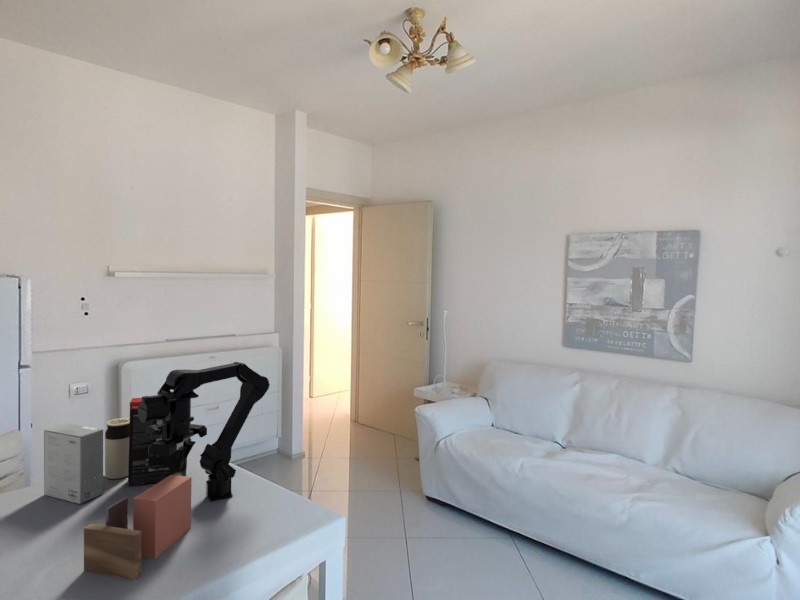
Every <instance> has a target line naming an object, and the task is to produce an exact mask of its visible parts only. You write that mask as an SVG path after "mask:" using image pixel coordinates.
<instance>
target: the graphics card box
mask: <svg viewBox="0 0 800 600" xmlns="http://www.w3.org/2000/svg"><path fill="white" fill-rule="evenodd" d="M141 401H142V397H132V398H131V400H130V402H129V419H130V427H129V464H128V476H127V484H128V485H127V486H135V485H136V486H137V485H146V484H147V485H148V484H154V483H156V484H157V483H159V482H160V481H162V480H163V479H165V478H167V477H168V476H170V475H178V476H186V477H187V468H188V457H187V458H186V460H185V462H184V464H183V466H182V468H181V469H176V466H175V463H174V461H173V458H172V456H171V455H170V456H158V455H150V454H148V447H149V446H150V445H151V444H152V443H154V442H156V441H158V440H168V441H169V438H167V439H165V438H163V436H162V437H158V438H155V439H154V440H152V439H151V438H148V437H147V436H146V429H147V427H149V426H152V425H154V424H155V425H156V426H157V425H160V424H163V423H164V421H165V420H166V419H168V418H169V416H167V417H166V418H164V419H159V420H154V421H149V422H144V423H142V422H141V421H140V419H139V416H138V407H139V404H140V402H141Z"/></svg>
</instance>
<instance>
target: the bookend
mask: <svg viewBox="0 0 800 600" xmlns="http://www.w3.org/2000/svg"><path fill="white" fill-rule="evenodd" d="M128 498H129V497H128V496H125V497H123V498H122V499H120V500H118V501H117V502H115V503H114V504H112V505H111V504H110V506H108V507H107V508H106V509H105V526H111V527H117V528H124V529H129V528H128V527H129V526H128V525H129V524H128V521H129V519H128V517H129V512H128V511H129V503H128V502H129V501H128Z"/></svg>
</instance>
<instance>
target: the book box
mask: <svg viewBox="0 0 800 600" xmlns="http://www.w3.org/2000/svg"><path fill="white" fill-rule="evenodd" d="M132 499H133V500H132V530H138V531H141V557H142V558H143V557H144V558H151V559H157V557H158V556H160V555H161V554H162V553H164V551H166V549H168V548H170V547H171V546H172V545H173V544H174V543H175V542H176V541H178V540H179V539H180V538H181V537H182V536H184V534H186V533H187V532H188V531H189V530H191V529H192V476H187V475H186V476H178V475H170V476H168V477H167V478H165V479H163V480H162V481H160V482H156V484H154V485H152V486H151V487H149V488H147V489H146V490H144V491H142V492H141V493H139V494H138V495H136V496H134V497H133V498H132Z"/></svg>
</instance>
